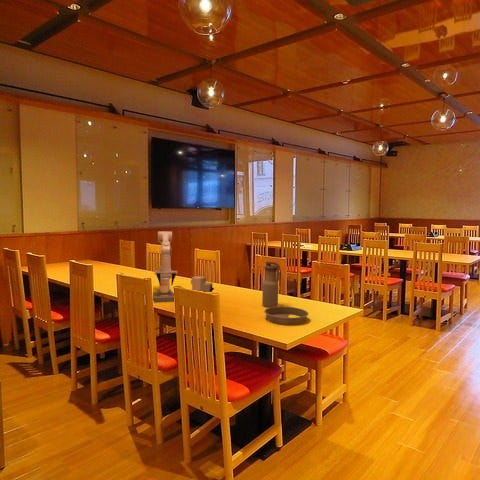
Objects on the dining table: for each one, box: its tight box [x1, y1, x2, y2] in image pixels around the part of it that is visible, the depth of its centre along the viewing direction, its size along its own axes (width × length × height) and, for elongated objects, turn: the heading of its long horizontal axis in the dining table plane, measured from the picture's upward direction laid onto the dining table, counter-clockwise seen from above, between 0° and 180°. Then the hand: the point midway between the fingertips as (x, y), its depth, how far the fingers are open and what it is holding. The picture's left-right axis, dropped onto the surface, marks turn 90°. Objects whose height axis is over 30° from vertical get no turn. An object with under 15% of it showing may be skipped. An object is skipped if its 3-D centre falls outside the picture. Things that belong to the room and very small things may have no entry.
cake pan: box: [263, 306, 309, 326], centre depth 223 cm, size 25×25×4 cm
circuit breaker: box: [190, 275, 215, 293], centre depth 264 cm, size 8×14×15 cm, turn 78°
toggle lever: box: [161, 283, 168, 294], centre depth 268 cm, size 2×5×7 cm, turn 103°
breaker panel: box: [152, 288, 175, 303], centre depth 265 cm, size 18×18×6 cm
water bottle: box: [261, 260, 281, 308], centre depth 251 cm, size 10×10×28 cm
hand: (166, 285), depth 261 cm, fingers open, 7 cm apart
